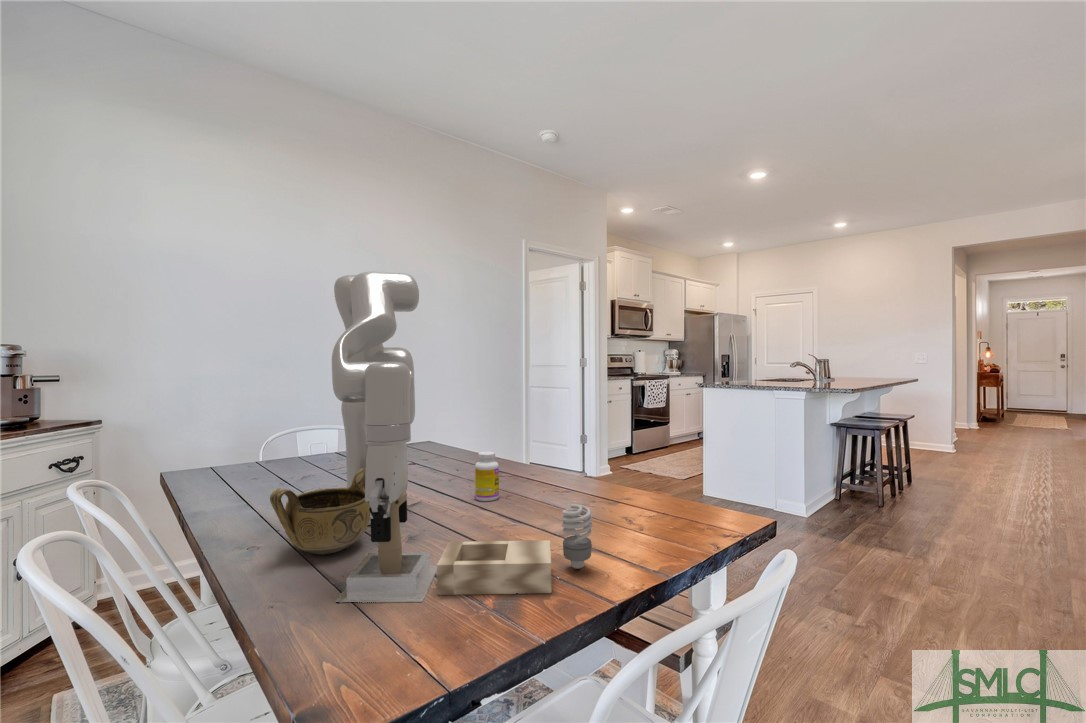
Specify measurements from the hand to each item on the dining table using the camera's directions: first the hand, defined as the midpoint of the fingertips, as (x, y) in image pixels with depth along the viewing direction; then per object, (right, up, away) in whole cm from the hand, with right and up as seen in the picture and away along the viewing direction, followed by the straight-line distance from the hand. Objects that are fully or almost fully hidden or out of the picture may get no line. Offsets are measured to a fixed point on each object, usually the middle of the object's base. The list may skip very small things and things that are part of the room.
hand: (390, 531), depth 87 cm
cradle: (0, -9, 0) cm, 9 cm away
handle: (0, -9, 0) cm, 9 cm away
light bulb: (+33, -9, +5) cm, 35 cm away
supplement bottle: (+11, -9, +53) cm, 55 cm away
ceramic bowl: (-18, -10, +17) cm, 27 cm away
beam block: (+19, -9, +1) cm, 21 cm away
